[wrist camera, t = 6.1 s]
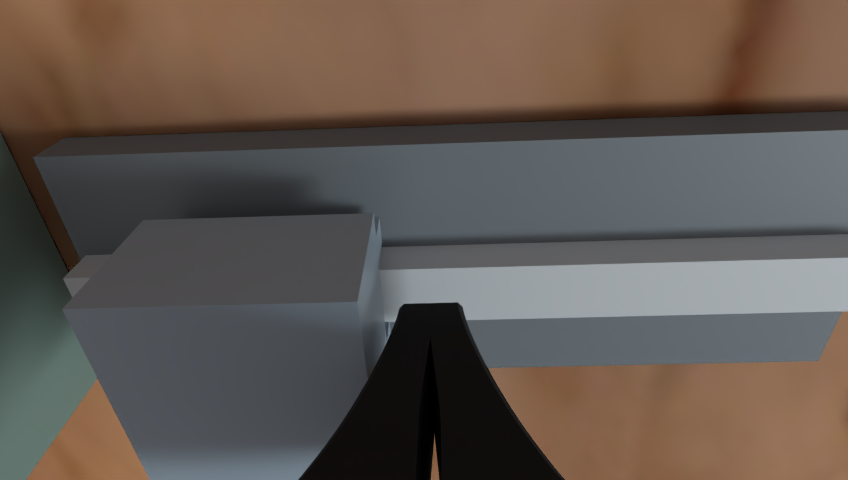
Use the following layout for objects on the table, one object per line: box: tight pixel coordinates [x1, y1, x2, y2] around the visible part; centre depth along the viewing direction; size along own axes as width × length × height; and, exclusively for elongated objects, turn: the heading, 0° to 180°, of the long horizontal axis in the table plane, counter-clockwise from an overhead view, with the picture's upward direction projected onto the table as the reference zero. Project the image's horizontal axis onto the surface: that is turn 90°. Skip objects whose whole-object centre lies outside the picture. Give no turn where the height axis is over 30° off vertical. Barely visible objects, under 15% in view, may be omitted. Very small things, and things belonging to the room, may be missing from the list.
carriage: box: [62, 213, 391, 480], centre depth 12 cm, size 5×5×4 cm
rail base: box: [33, 111, 848, 368], centre depth 14 cm, size 7×20×2 cm, turn 92°
